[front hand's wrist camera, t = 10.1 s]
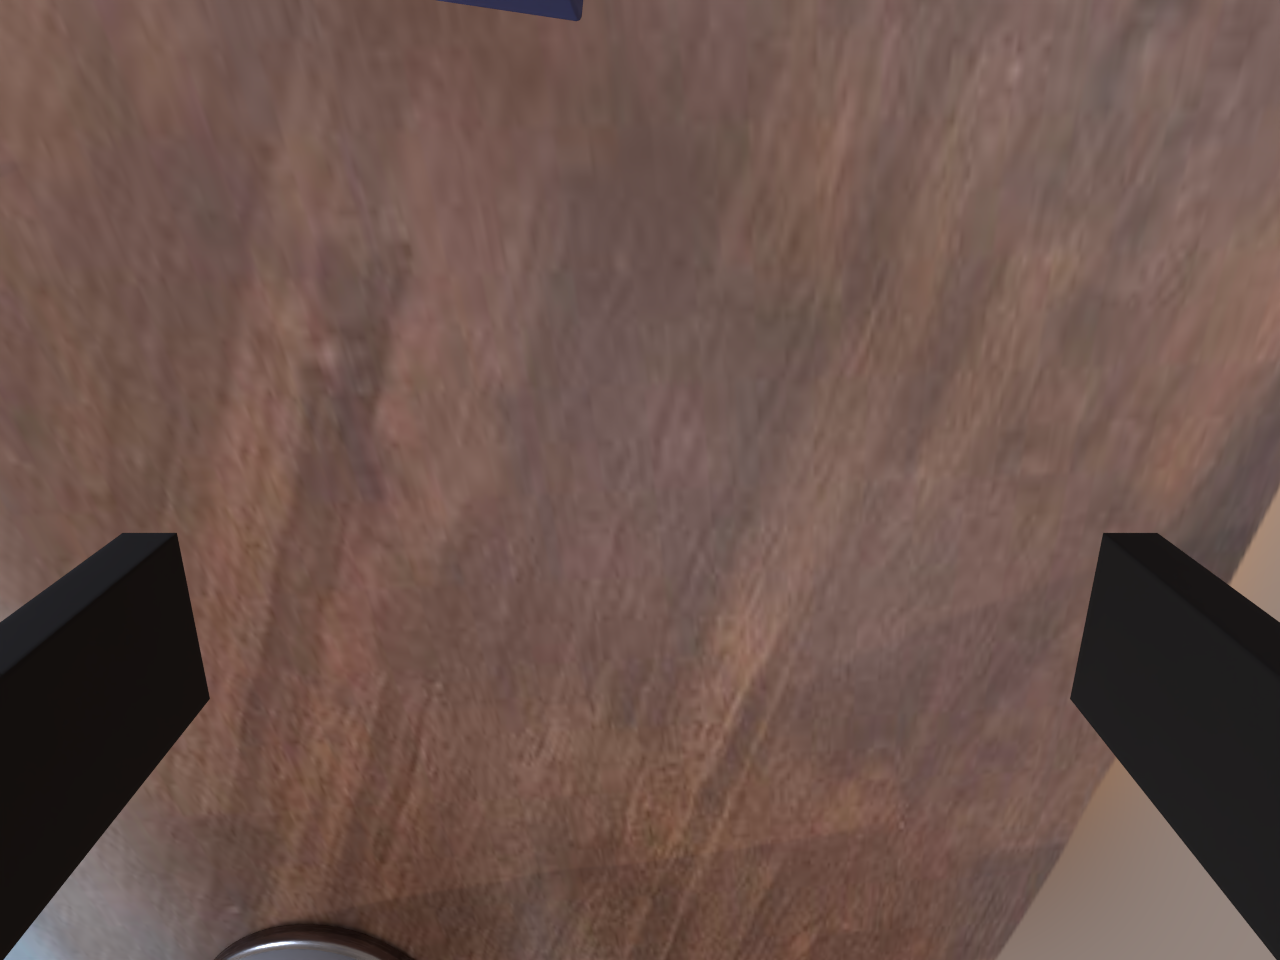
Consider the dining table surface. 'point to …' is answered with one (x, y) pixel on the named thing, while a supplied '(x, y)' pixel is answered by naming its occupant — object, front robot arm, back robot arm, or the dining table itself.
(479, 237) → the dining table surface
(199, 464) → the dining table surface
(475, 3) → the bar
